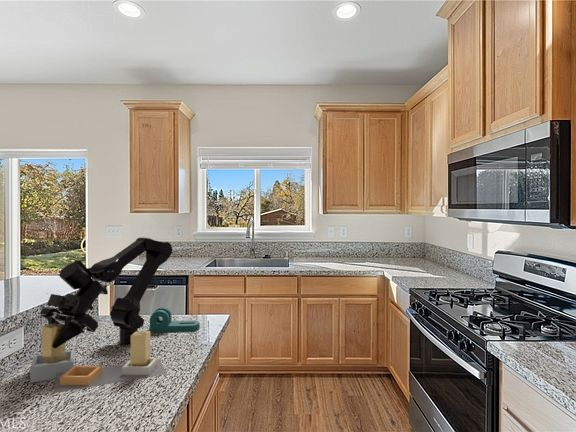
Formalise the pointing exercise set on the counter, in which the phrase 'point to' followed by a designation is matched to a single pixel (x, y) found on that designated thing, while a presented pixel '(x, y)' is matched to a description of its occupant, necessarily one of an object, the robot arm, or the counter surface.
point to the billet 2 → (140, 348)
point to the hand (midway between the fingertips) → (48, 346)
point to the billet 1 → (48, 339)
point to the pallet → (105, 375)
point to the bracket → (170, 322)
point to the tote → (50, 367)
